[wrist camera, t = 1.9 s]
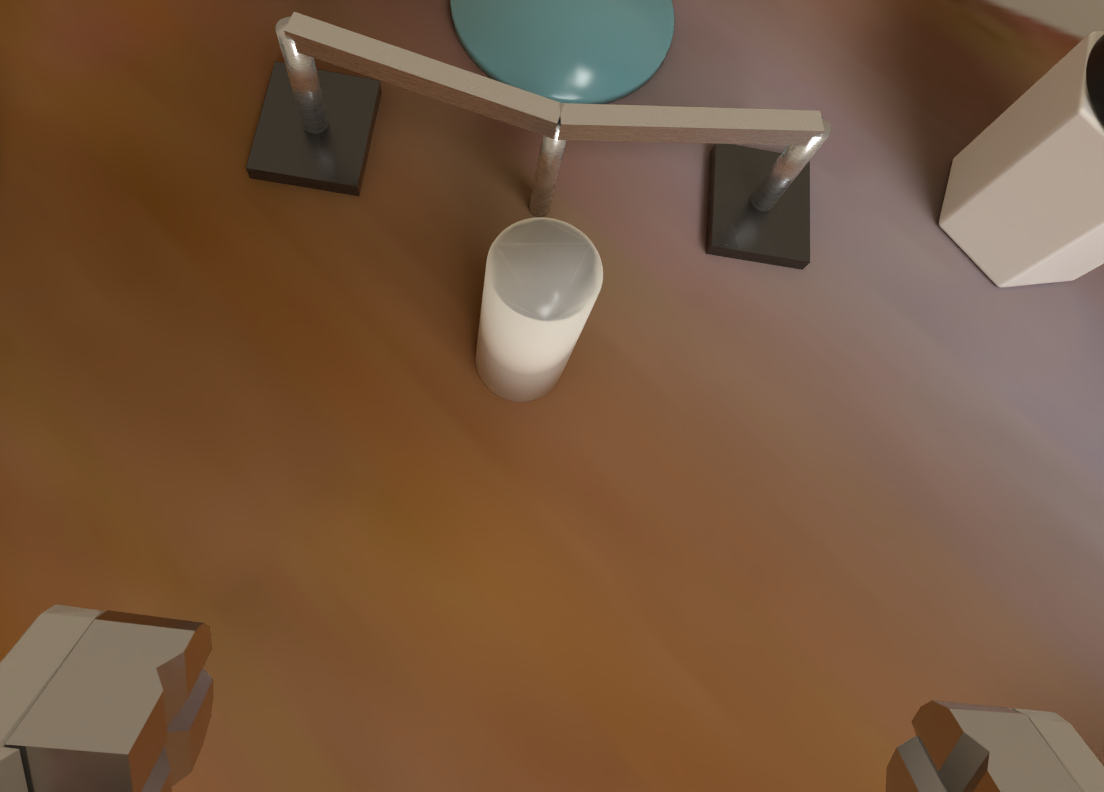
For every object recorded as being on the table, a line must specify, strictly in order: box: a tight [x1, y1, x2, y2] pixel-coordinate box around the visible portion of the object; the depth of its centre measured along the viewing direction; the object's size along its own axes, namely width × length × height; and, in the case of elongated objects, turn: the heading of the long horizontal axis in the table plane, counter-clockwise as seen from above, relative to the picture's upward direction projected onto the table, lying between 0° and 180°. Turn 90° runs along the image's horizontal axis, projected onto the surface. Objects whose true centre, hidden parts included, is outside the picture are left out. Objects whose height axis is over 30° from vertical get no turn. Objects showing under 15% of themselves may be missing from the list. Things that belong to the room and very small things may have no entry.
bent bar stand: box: [246, 12, 831, 270], centre depth 33 cm, size 27×6×7 cm, turn 84°
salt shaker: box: [476, 217, 603, 402], centre depth 29 cm, size 4×4×9 cm
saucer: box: [450, 0, 674, 104], centre depth 40 cm, size 12×12×1 cm
